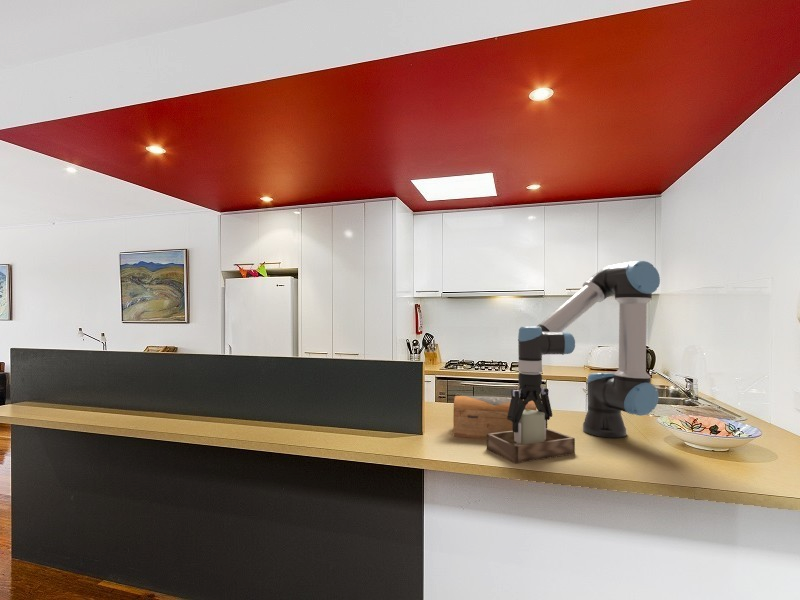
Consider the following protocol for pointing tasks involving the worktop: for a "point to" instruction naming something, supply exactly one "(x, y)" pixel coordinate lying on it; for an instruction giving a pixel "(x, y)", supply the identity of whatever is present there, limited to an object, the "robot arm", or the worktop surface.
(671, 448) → the worktop surface
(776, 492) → the worktop surface
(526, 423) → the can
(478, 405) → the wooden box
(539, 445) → the crate
